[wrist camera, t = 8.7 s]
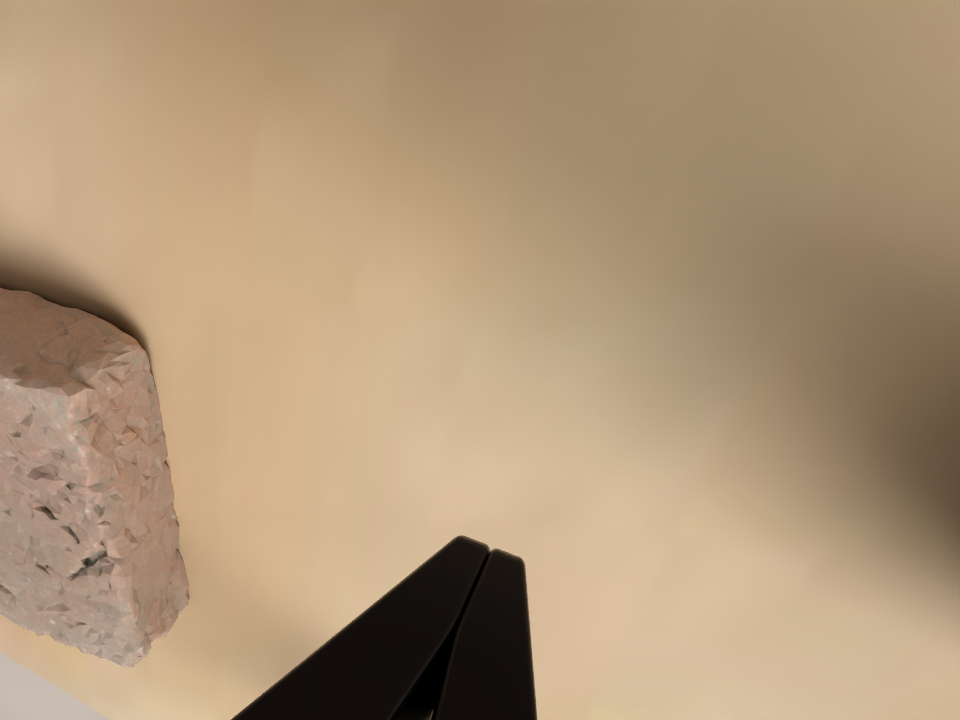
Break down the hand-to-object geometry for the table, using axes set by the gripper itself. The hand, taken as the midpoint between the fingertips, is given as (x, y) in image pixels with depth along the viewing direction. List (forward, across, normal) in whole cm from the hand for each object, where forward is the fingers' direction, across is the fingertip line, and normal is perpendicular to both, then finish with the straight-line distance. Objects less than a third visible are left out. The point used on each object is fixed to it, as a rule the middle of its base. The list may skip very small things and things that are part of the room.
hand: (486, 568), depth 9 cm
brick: (+13, +18, +17) cm, 28 cm away
